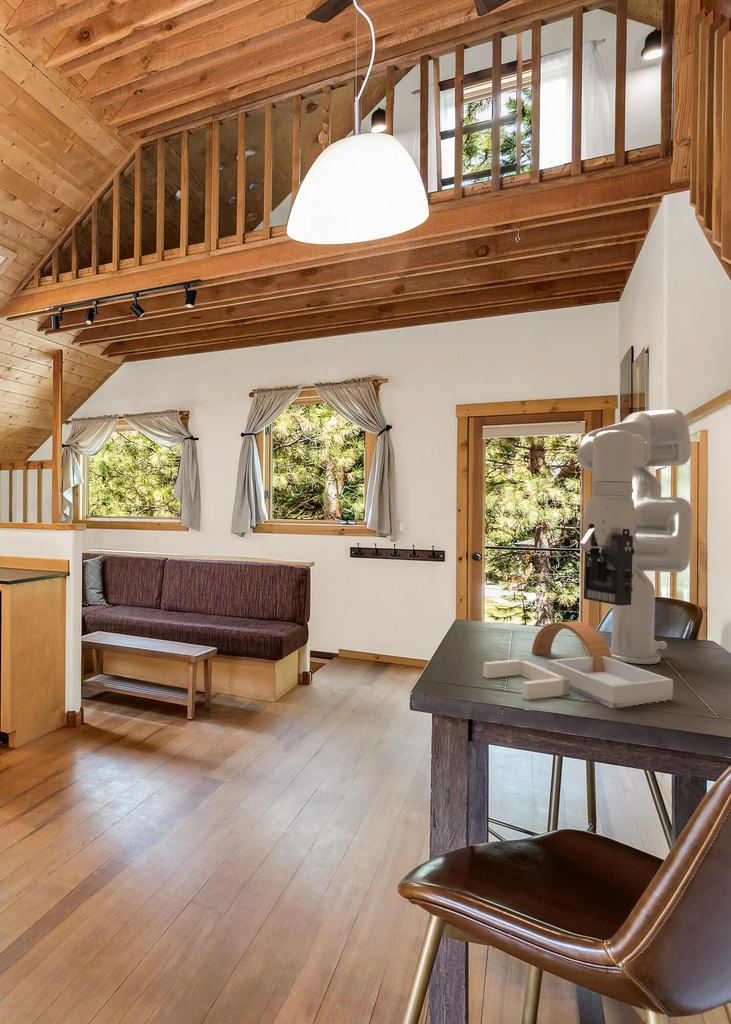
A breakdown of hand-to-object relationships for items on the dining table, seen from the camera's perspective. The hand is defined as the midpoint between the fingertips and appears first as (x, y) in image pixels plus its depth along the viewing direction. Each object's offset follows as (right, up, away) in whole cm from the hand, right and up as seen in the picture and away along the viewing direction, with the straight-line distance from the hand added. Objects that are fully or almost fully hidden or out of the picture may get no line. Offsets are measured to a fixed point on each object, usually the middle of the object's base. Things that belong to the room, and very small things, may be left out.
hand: (609, 579), depth 110 cm
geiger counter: (0, -5, 0) cm, 5 cm away
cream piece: (-17, -22, +1) cm, 28 cm away
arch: (-1, -23, +18) cm, 29 cm away
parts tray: (-1, -22, 0) cm, 22 cm away
